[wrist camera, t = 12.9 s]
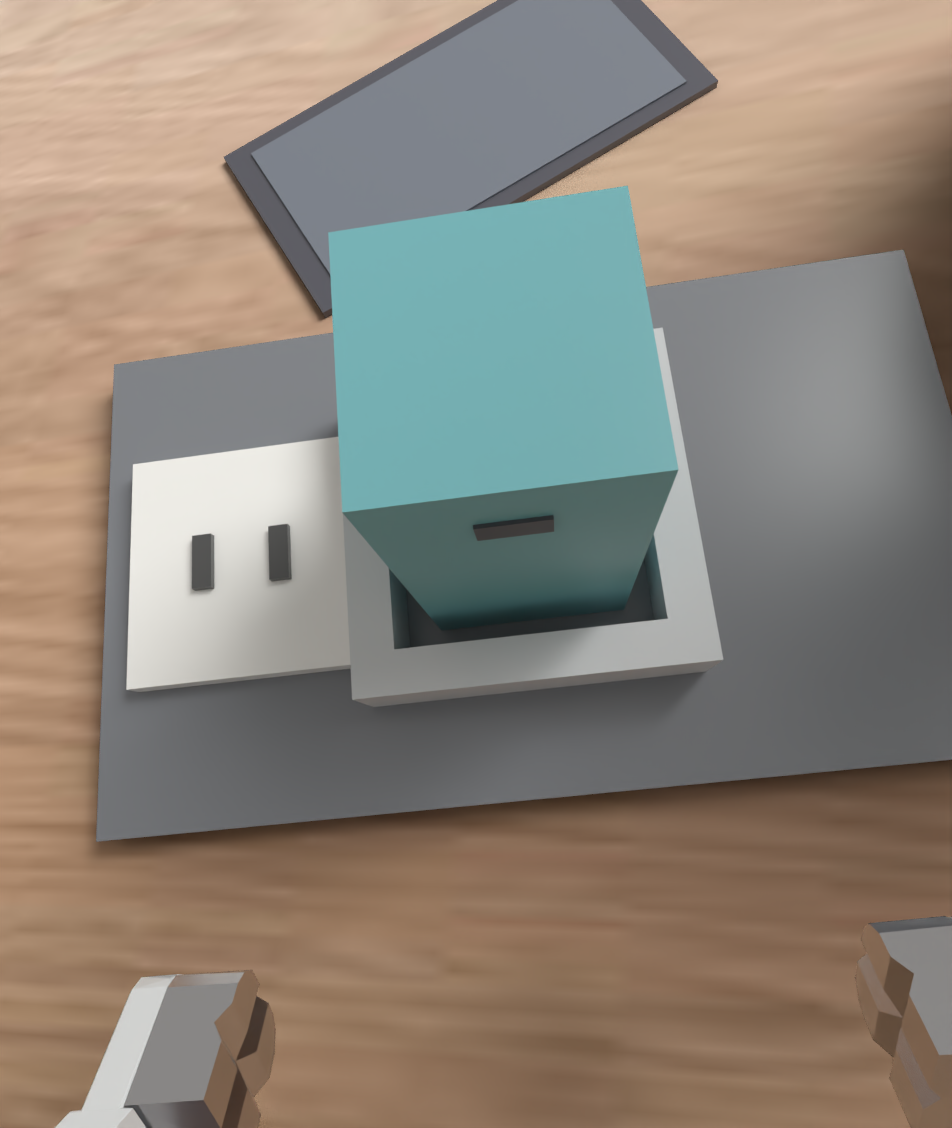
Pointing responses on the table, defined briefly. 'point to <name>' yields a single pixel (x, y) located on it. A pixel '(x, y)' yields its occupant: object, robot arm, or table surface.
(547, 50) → the phone
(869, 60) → the table surface
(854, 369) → the grey socket base board
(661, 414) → the teal box with slot
